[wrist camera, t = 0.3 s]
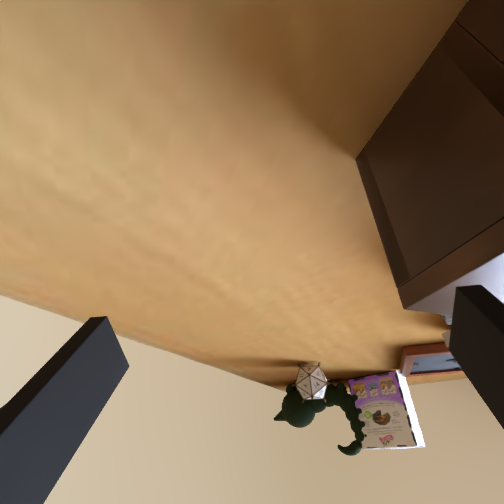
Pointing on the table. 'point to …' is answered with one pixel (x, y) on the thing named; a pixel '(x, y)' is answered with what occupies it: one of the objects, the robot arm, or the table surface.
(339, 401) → the toy figurine
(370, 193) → the step shelf
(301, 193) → the table surface
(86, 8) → the table surface
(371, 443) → the candy box
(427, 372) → the picture frame
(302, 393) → the game die
